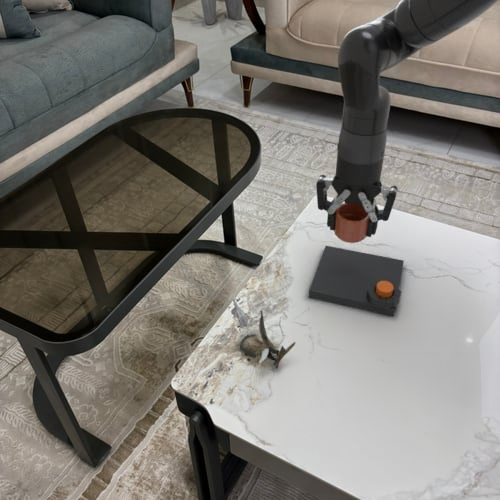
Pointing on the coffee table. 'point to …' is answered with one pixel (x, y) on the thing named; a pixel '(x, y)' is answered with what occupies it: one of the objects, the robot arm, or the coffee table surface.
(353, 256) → the scale
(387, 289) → the button
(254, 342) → the eagle figurine
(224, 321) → the coffee table surface
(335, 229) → the brown cup
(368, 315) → the coffee table surface
